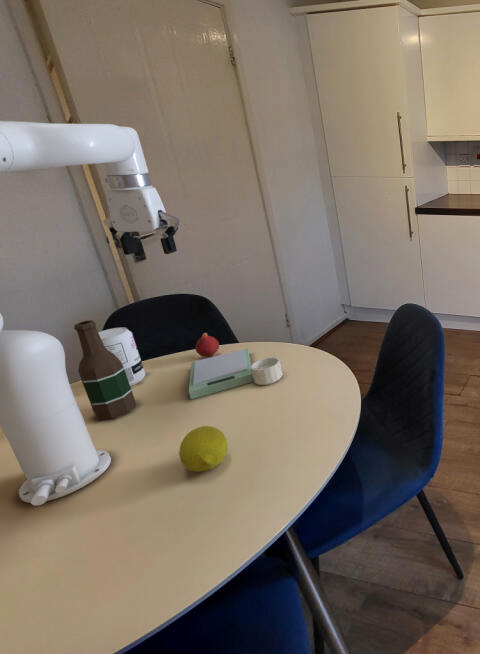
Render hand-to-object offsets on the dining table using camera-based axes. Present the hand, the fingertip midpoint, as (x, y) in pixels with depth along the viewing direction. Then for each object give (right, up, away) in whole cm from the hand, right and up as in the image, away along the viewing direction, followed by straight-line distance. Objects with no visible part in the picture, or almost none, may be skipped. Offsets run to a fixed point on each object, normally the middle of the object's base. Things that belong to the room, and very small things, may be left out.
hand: (151, 253), depth 102 cm
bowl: (+21, -34, +13) cm, 43 cm away
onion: (-4, -31, +26) cm, 41 cm away
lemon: (+26, -44, -17) cm, 54 cm away
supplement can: (-18, -35, +13) cm, 42 cm away
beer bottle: (-9, -39, +1) cm, 40 cm away
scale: (+7, -34, +15) cm, 38 cm away
